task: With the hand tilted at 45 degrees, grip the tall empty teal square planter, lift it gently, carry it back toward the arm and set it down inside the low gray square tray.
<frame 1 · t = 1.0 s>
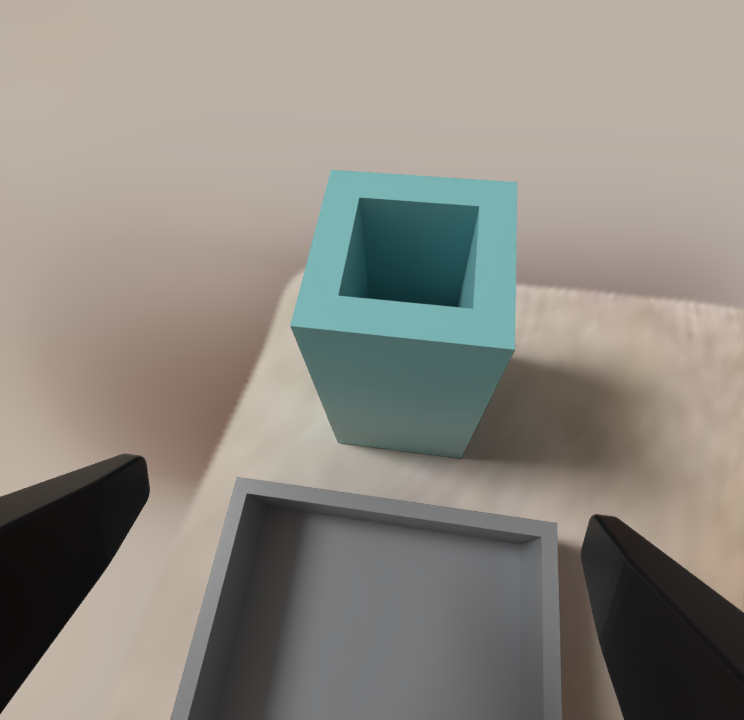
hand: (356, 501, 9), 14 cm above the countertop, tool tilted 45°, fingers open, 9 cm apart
gray square tray: (371, 673, 20), on the countertop
teal square planter: (405, 393, 25), on the countertop
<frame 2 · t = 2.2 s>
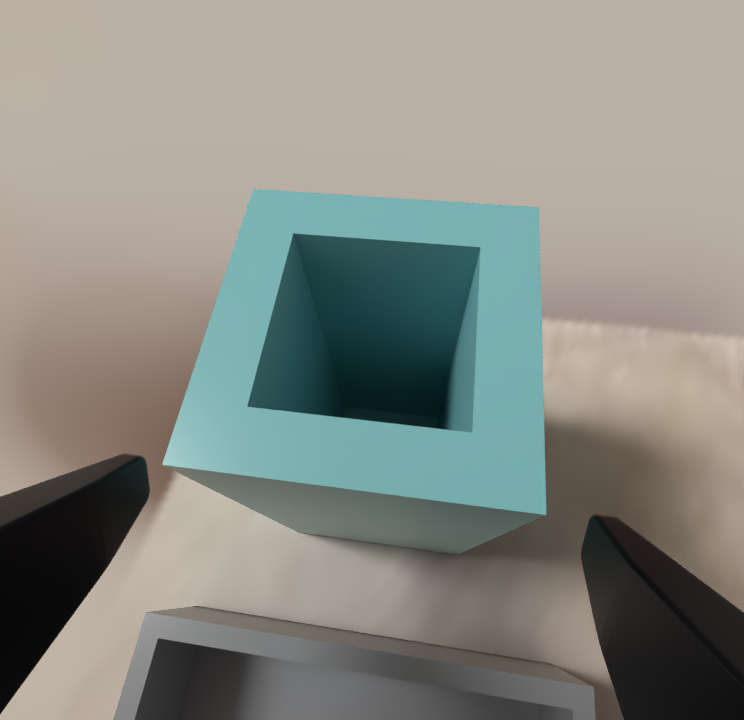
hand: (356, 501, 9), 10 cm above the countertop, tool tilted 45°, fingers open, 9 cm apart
teal square planter: (386, 463, 20), on the countertop
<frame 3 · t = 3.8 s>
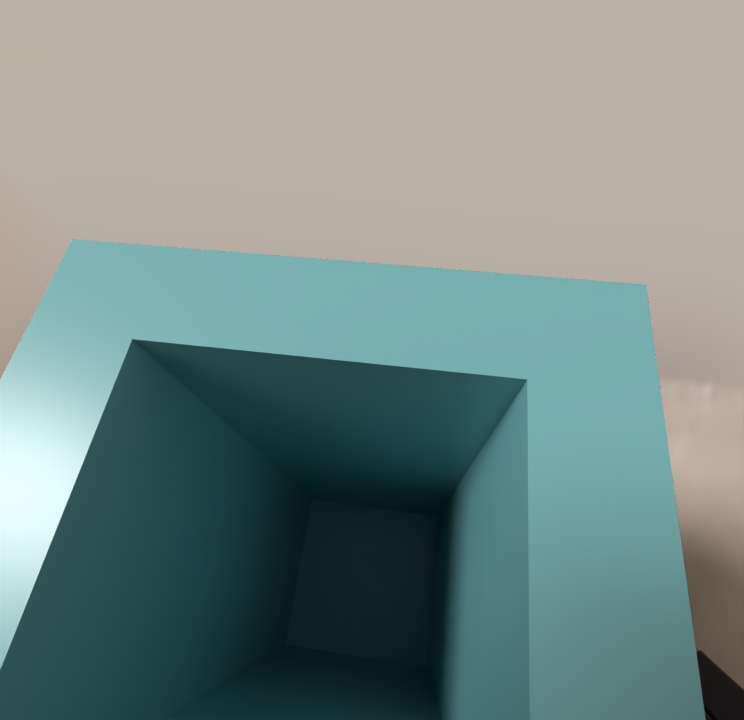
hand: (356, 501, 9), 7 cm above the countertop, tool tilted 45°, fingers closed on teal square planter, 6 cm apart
teal square planter: (366, 577, 15), on the countertop, touching gripper
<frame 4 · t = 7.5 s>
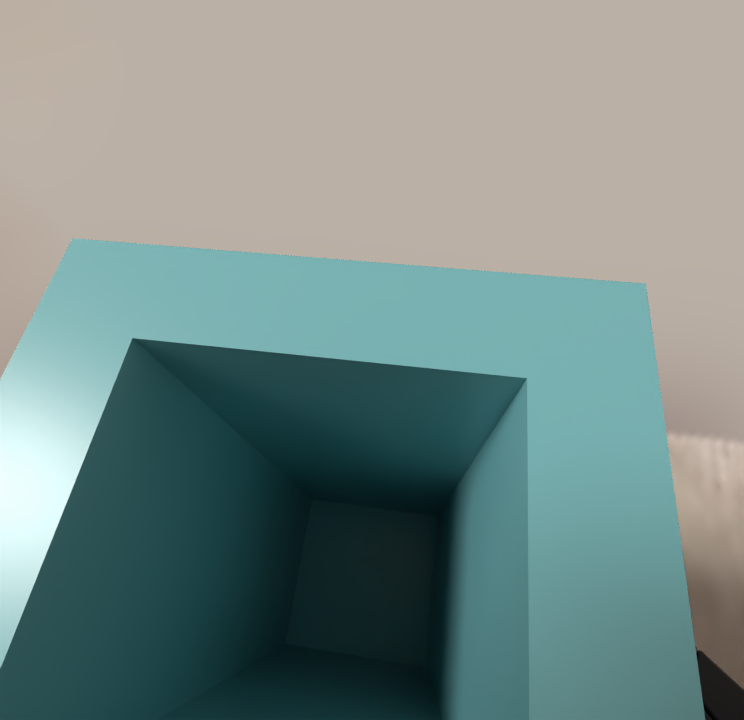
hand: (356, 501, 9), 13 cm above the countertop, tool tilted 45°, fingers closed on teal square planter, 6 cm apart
teal square planter: (366, 576, 15), point 7 cm above the countertop, touching gripper
when the fingers open (9 cm above the countertop, at t = 11.4 s): teal square planter drops 2 cm, resting on gray square tray.
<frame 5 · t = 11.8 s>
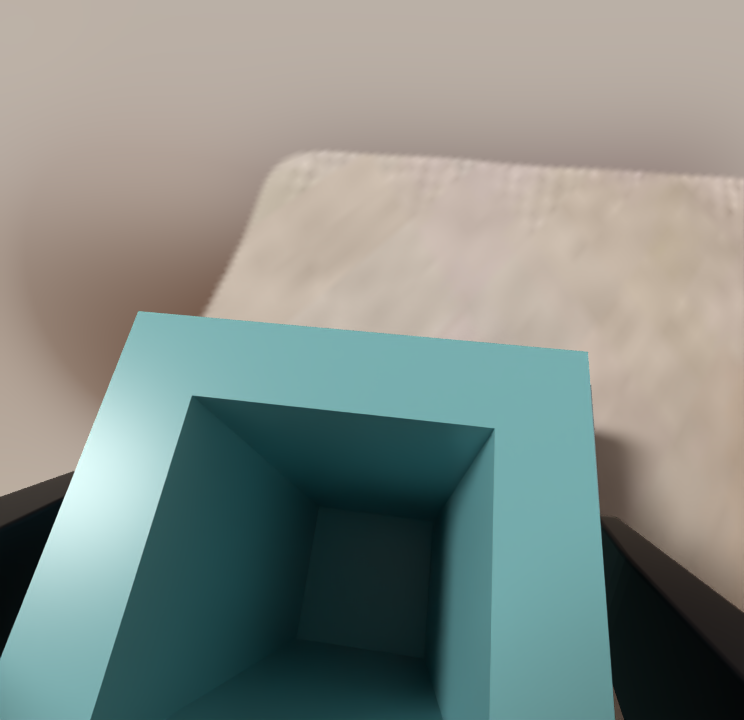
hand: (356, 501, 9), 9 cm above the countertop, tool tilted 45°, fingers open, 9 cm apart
teal square planter: (369, 577, 16), point 1 cm above the countertop, touching gray square tray
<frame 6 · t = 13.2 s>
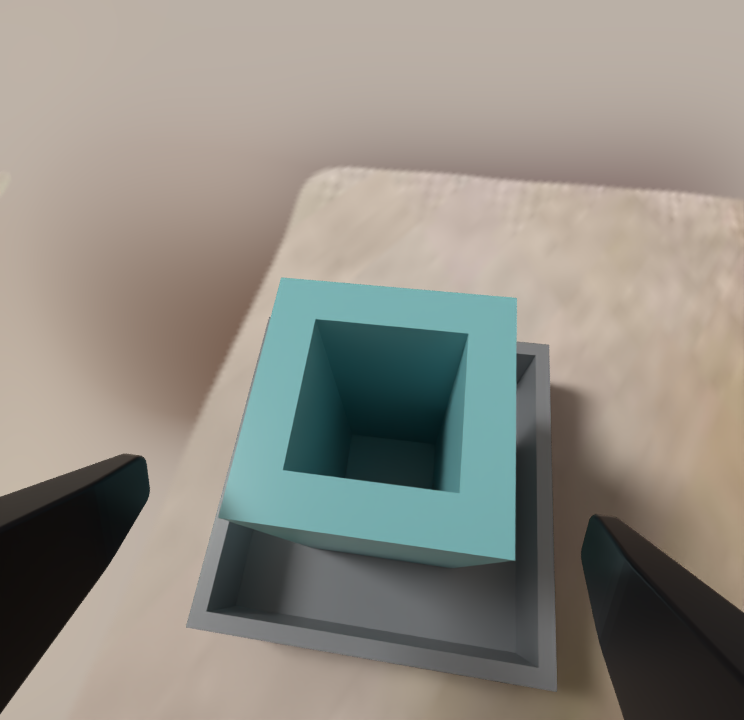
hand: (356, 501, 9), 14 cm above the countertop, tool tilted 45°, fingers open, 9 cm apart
gray square tray: (388, 487, 23), on the countertop
teal square planter: (388, 485, 22), point 1 cm above the countertop, touching gray square tray
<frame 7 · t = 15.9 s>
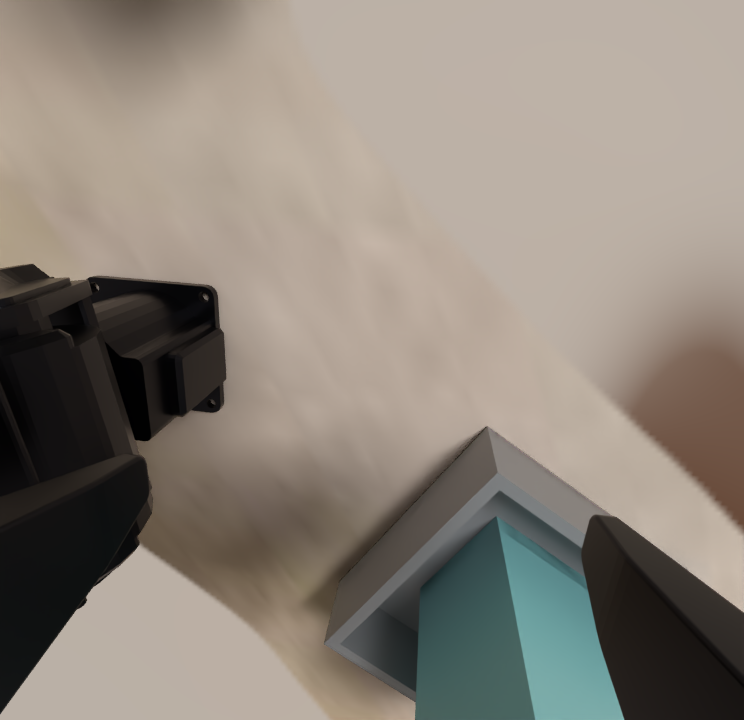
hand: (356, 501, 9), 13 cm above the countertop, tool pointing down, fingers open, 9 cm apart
gray square tray: (502, 576, 25), on the countertop
teal square planter: (503, 585, 25), point 1 cm above the countertop, touching gray square tray
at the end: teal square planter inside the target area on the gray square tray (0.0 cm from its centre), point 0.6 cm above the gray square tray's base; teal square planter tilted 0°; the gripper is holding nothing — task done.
